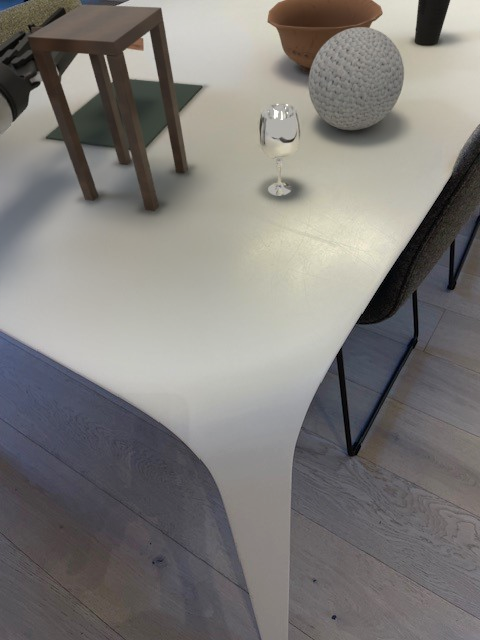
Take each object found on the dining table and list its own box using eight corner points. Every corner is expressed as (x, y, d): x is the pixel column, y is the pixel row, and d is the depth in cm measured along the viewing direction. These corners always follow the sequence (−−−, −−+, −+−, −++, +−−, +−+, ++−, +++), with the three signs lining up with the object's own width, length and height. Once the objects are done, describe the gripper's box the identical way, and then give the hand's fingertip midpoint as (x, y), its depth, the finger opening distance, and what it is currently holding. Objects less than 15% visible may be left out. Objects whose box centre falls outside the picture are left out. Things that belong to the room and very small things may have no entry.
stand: (85, 200, 75) (26, 36, 58) (123, 160, 83) (81, 4, 66) (154, 212, 72) (113, 42, 55) (188, 169, 79) (161, 7, 62)
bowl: (256, 87, 98) (253, 26, 90) (282, 46, 112) (282, -10, 104) (368, 94, 93) (375, 29, 85) (381, 49, 107) (389, -9, 98)
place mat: (46, 140, 90) (45, 136, 89) (117, 80, 106) (117, 77, 105) (142, 153, 84) (142, 149, 84) (202, 88, 100) (202, 85, 99)
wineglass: (289, 176, 76) (289, 98, 67) (305, 195, 72) (308, 115, 63) (254, 185, 75) (250, 107, 66) (269, 205, 71) (267, 126, 62)
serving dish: (11, 38, 73) (8, 22, 72) (96, 49, 92) (95, 37, 91) (68, 39, 70) (66, 23, 69) (143, 50, 89) (143, 38, 88)
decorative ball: (410, 138, 81) (430, 39, 70) (322, 153, 80) (328, 54, 69) (375, 100, 91) (387, 8, 80) (297, 113, 90) (298, 21, 79)
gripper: (23, 76, 60) (109, -10, 72) (-76, 69, 64) (21, -11, 76) (49, 130, 66) (124, 43, 78) (-43, 121, 70) (42, 39, 83)
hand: (73, 17), depth 77 cm, fingers closed on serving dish, 2 cm apart
